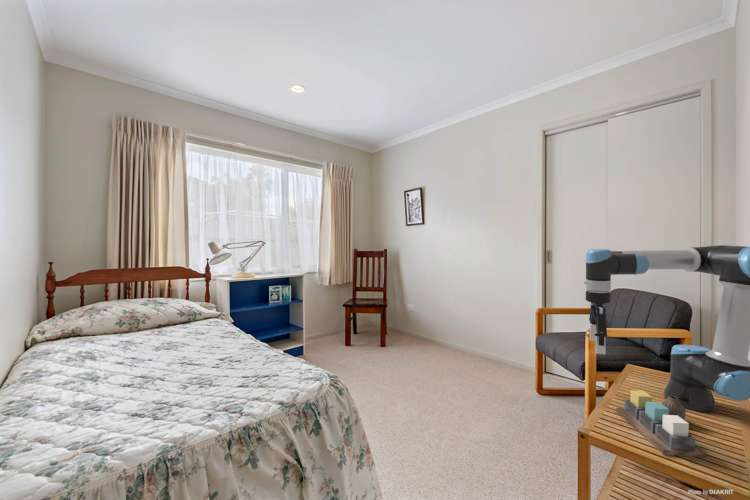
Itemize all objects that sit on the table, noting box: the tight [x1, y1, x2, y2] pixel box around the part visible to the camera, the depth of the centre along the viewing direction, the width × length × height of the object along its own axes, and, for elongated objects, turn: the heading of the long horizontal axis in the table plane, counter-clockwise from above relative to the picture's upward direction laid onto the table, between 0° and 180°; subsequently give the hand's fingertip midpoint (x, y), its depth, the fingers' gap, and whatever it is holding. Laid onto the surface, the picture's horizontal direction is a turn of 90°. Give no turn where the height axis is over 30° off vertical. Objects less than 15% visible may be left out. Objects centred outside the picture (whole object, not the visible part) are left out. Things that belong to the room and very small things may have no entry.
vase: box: [660, 396, 687, 420], centre depth 118 cm, size 7×7×9 cm
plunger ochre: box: [629, 389, 653, 408], centre depth 119 cm, size 4×4×5 cm
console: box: [615, 398, 707, 458], centre depth 112 cm, size 12×24×6 cm, turn 173°
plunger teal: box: [645, 401, 669, 421], centre depth 111 cm, size 4×4×5 cm
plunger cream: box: [662, 415, 690, 437], centre depth 104 cm, size 4×4×5 cm
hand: (597, 347), depth 119 cm, fingers open, 13 cm apart
